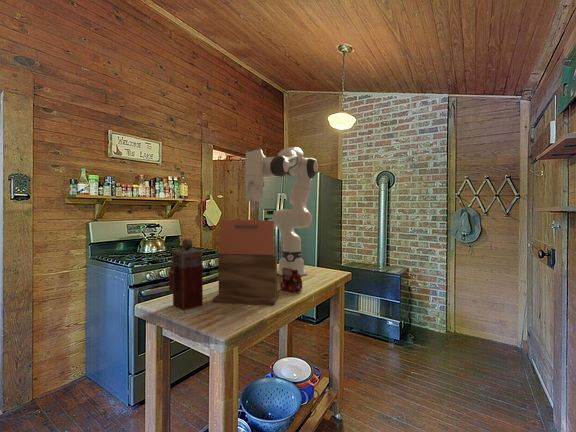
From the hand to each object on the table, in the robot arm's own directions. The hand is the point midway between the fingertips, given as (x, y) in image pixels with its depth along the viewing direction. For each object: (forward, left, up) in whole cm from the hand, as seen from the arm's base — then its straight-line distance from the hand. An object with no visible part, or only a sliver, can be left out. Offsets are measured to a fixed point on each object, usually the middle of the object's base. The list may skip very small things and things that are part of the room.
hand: (254, 210), depth 149 cm
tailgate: (+14, 0, -19) cm, 24 cm away
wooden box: (+14, 0, -39) cm, 42 cm away
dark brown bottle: (+26, -23, -39) cm, 52 cm away
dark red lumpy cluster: (-4, +18, -39) cm, 43 cm away
